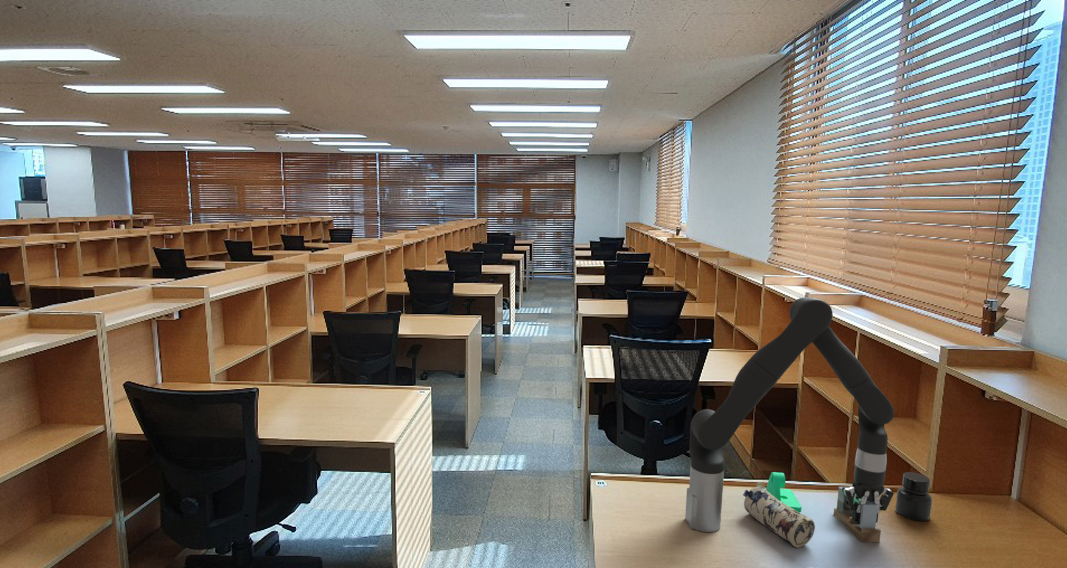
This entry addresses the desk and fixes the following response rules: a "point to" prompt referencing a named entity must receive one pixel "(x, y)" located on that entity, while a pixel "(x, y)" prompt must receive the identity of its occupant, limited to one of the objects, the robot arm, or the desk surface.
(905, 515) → the ink bottle
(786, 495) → the camera mount
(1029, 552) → the desk surface
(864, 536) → the rail
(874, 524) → the finger block
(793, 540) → the pencil case
